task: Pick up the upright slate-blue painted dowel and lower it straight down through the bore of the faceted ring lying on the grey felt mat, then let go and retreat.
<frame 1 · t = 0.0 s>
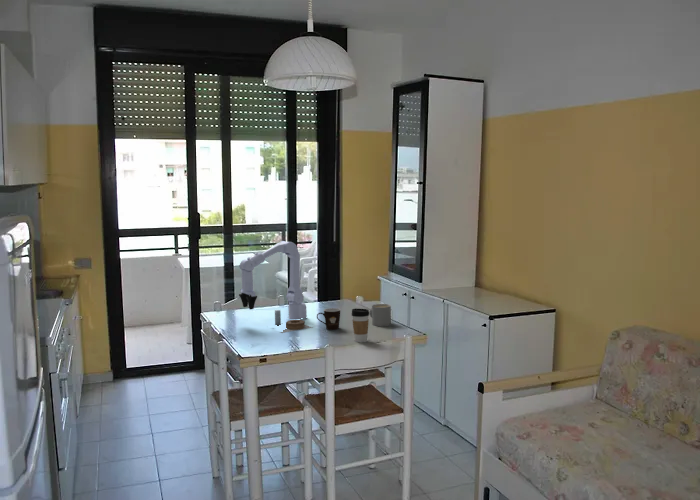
hand: (248, 308, 304), 10 cm above the table, fingers open, 7 cm apart
dowel: (278, 325, 305), resting on mat
coffee mug: (329, 329, 297), on the table
faceted ring: (295, 327, 300), resting on mat
mat: (289, 327, 301), on the table
coffee cup: (360, 340, 272), on the table
coffee mug 2: (379, 324, 306), on the table
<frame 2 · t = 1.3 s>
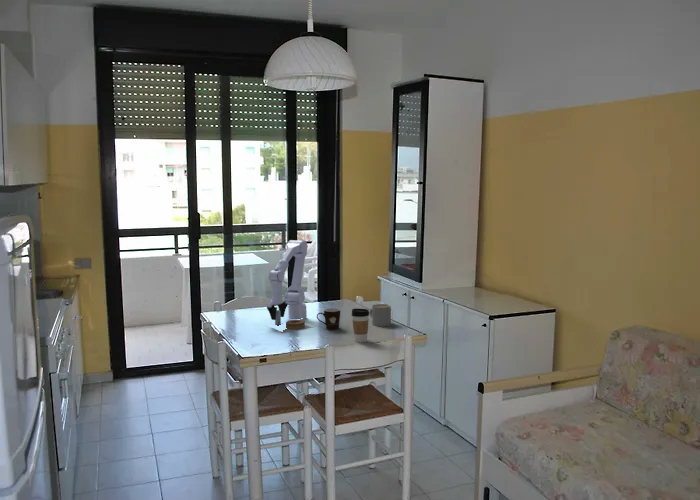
hand: (277, 318, 305), 4 cm above the table, fingers open, 7 cm apart
nothing on the table moved.
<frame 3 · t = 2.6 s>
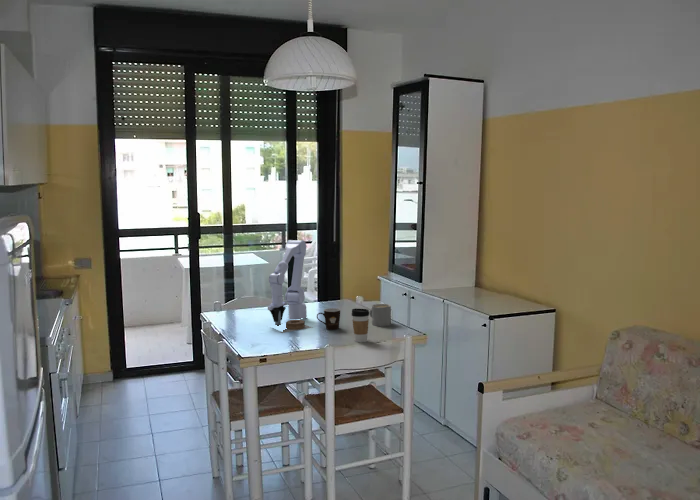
hand: (277, 321, 305), 3 cm above the table, fingers closed on dowel, 3 cm apart
dowel: (278, 325, 305), resting on mat, touching gripper
everything else where it was.
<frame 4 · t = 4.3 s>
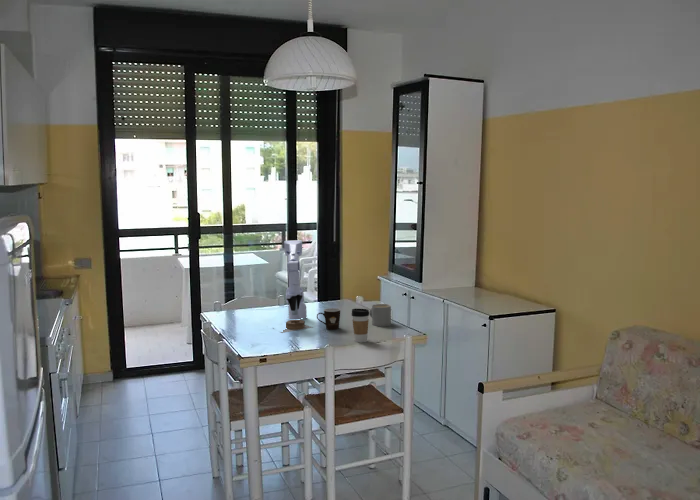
hand: (294, 309, 299), 10 cm above the table, fingers closed on dowel, 3 cm apart
dowel: (294, 314, 299), point 7 cm above the table, touching gripper
everything else where it was.
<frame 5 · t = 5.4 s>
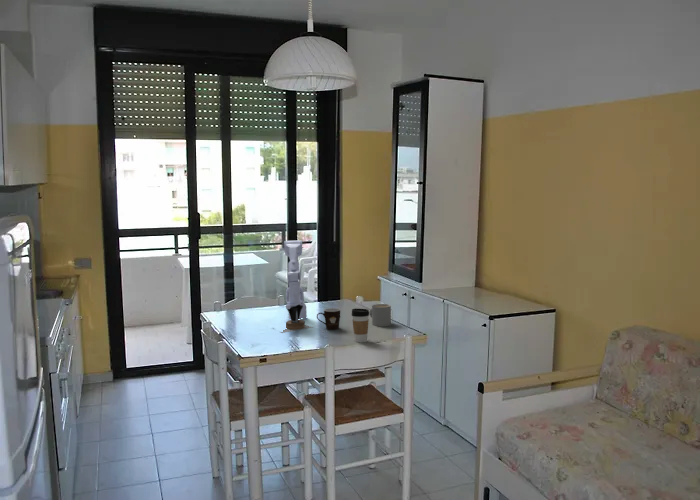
hand: (295, 320, 300), 4 cm above the table, fingers closed on dowel, 3 cm apart
dowel: (295, 324, 300), point 2 cm above the table, touching gripper
everything else where it was.
when the fingers open (4 cm above the table, at t = 5.9 s): dowel drops 1 cm, resting on mat.
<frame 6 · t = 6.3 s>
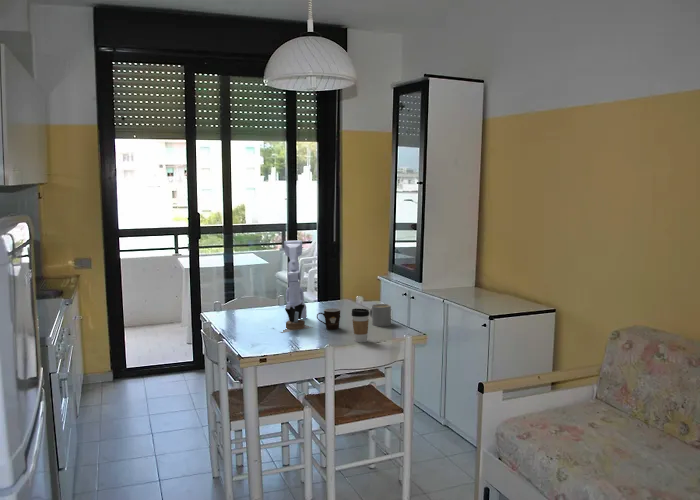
hand: (295, 320, 300), 4 cm above the table, fingers open, 6 cm apart
dowel: (295, 327, 300), resting on mat
everything else where it was.
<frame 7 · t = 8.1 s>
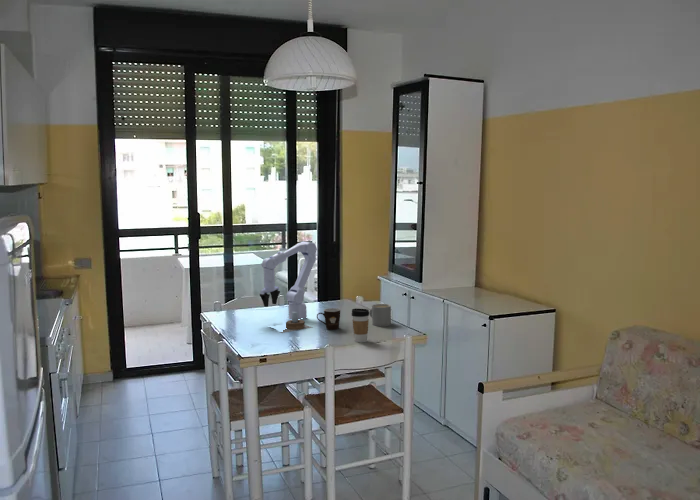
hand: (270, 305, 310), 10 cm above the table, fingers open, 7 cm apart
nothing on the table moved.
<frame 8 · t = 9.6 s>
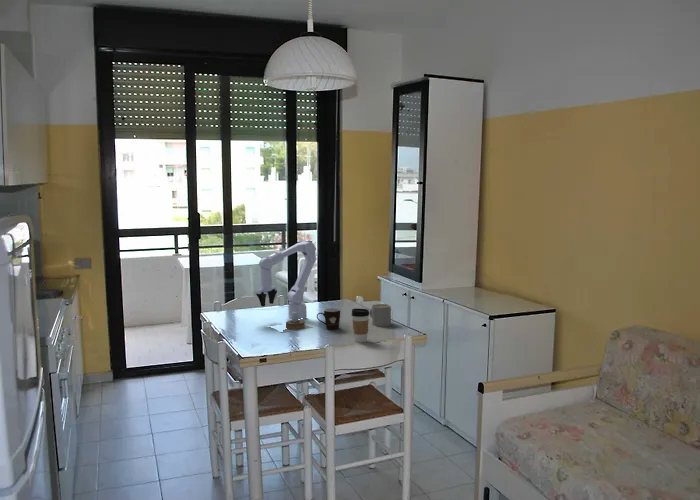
hand: (267, 304, 312), 10 cm above the table, fingers open, 7 cm apart
nothing on the table moved.
at the end: dowel 0.1 cm off-centre on the faceted ring, point 0.0 cm above the faceted ring's base; dowel tilted 0°; the gripper is holding nothing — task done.
